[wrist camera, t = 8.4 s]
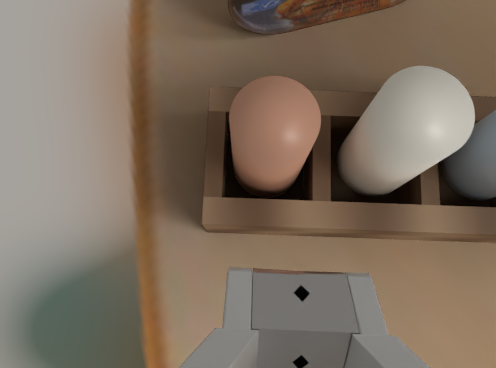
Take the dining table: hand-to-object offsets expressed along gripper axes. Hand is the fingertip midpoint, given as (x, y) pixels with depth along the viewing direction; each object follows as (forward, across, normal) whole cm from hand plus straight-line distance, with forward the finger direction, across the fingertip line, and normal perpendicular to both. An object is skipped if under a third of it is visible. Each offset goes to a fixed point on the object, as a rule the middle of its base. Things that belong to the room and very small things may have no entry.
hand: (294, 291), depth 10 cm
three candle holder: (+18, -6, +8) cm, 21 cm away
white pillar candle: (+16, -6, +6) cm, 18 cm away
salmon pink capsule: (+17, 0, +7) cm, 18 cm away
